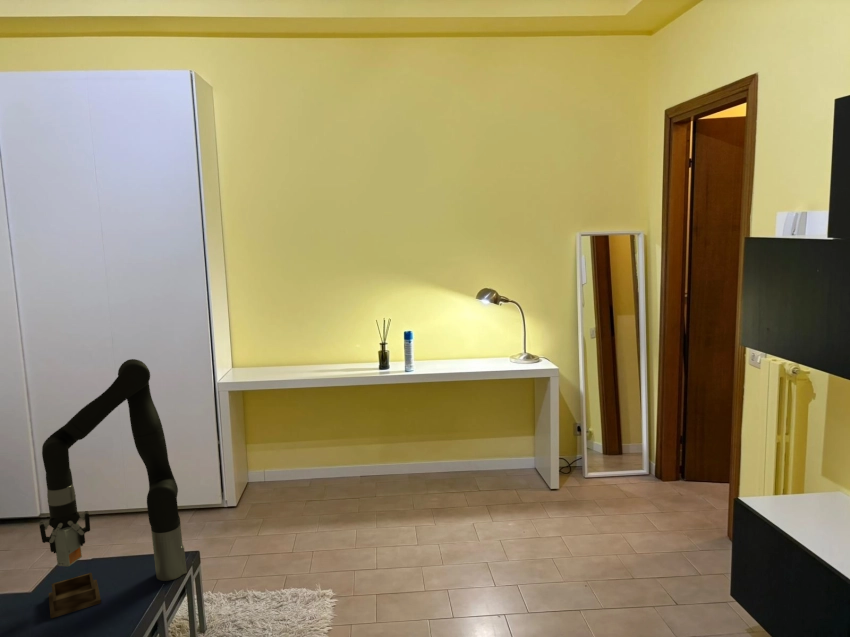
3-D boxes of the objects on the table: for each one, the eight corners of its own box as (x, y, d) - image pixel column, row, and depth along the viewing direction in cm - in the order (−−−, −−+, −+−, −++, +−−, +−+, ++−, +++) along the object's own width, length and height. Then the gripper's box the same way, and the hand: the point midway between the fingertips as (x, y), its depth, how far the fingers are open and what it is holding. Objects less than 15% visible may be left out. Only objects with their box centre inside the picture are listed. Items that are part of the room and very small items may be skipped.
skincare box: (69, 567, 201) (64, 531, 199) (57, 566, 202) (52, 530, 200) (83, 556, 207) (78, 522, 205) (71, 556, 208) (66, 521, 206)
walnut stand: (96, 582, 216) (95, 569, 215) (101, 603, 204) (99, 589, 203) (49, 596, 209) (47, 583, 208) (50, 618, 197) (48, 604, 196)
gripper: (86, 489, 208) (92, 537, 211) (35, 501, 200) (41, 550, 203) (88, 497, 202) (94, 546, 204) (35, 510, 194) (42, 560, 197)
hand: (68, 548), depth 204 cm, fingers closed on skincare box, 7 cm apart
